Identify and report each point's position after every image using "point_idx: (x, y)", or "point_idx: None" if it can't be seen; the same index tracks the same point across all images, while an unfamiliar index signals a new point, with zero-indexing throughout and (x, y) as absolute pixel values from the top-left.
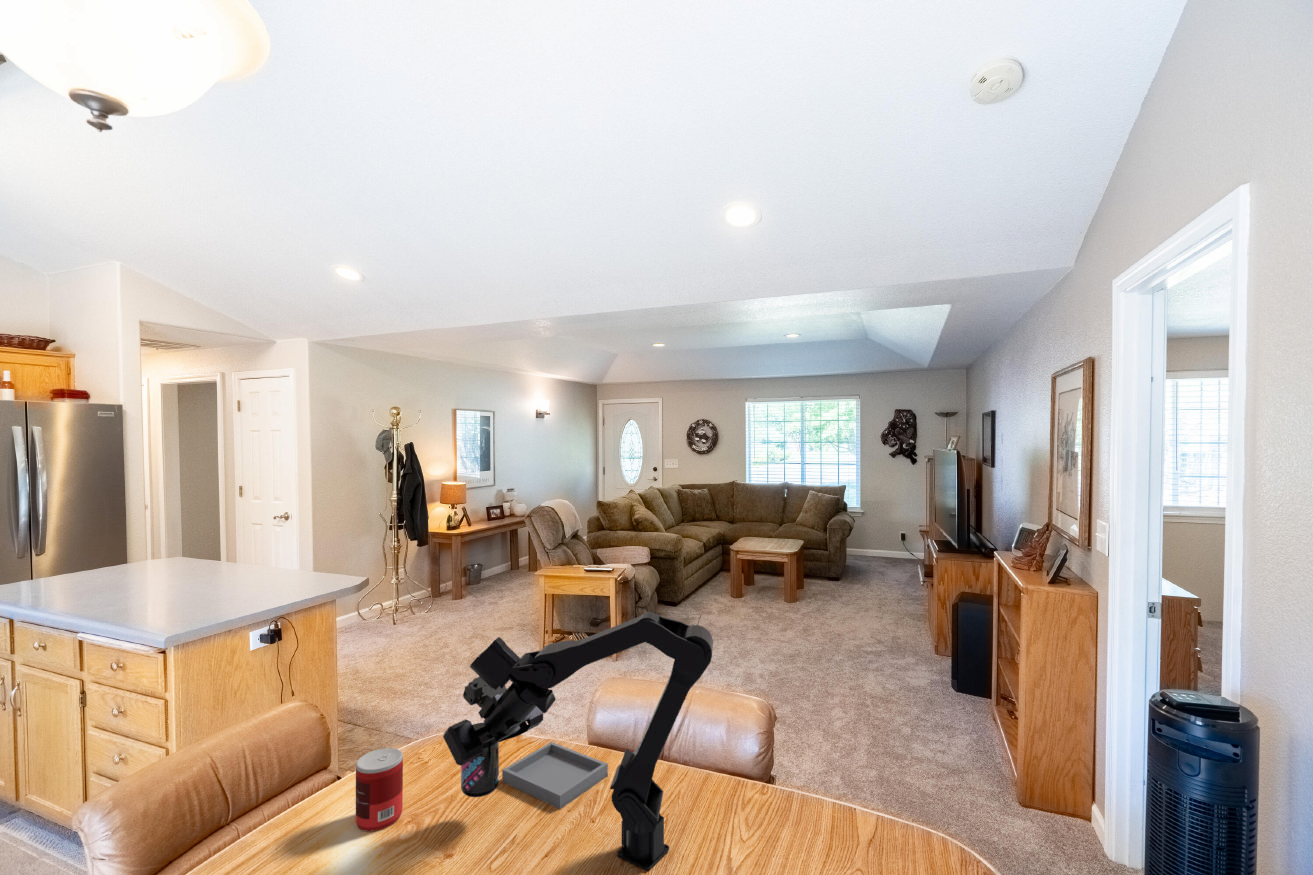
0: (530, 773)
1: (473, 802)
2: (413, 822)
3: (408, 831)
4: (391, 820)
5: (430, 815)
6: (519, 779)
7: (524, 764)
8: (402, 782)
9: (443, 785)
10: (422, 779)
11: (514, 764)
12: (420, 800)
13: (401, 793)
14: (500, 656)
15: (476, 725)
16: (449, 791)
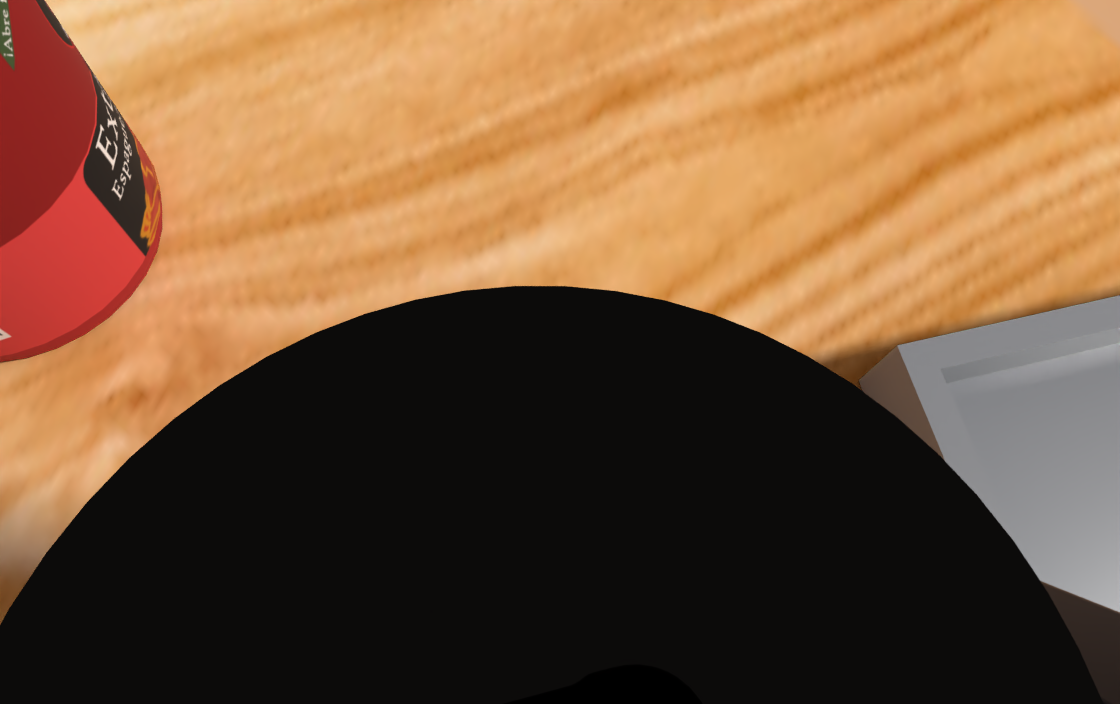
0: (1081, 456)
1: None
2: (150, 427)
3: (69, 506)
4: (7, 353)
5: None
6: None
7: (1080, 346)
8: (34, 167)
9: (509, 162)
10: (436, 24)
11: (1008, 342)
12: (314, 222)
13: (49, 232)
14: None
15: (623, 408)
16: (509, 248)
